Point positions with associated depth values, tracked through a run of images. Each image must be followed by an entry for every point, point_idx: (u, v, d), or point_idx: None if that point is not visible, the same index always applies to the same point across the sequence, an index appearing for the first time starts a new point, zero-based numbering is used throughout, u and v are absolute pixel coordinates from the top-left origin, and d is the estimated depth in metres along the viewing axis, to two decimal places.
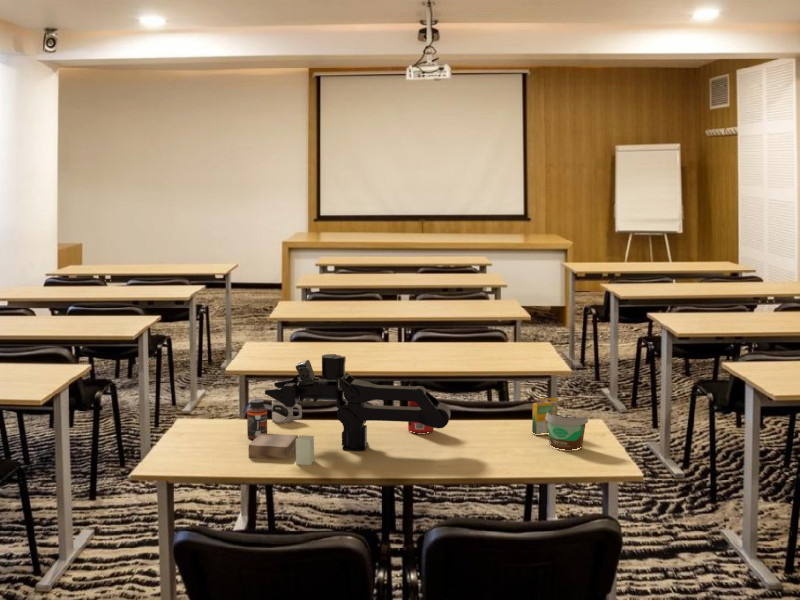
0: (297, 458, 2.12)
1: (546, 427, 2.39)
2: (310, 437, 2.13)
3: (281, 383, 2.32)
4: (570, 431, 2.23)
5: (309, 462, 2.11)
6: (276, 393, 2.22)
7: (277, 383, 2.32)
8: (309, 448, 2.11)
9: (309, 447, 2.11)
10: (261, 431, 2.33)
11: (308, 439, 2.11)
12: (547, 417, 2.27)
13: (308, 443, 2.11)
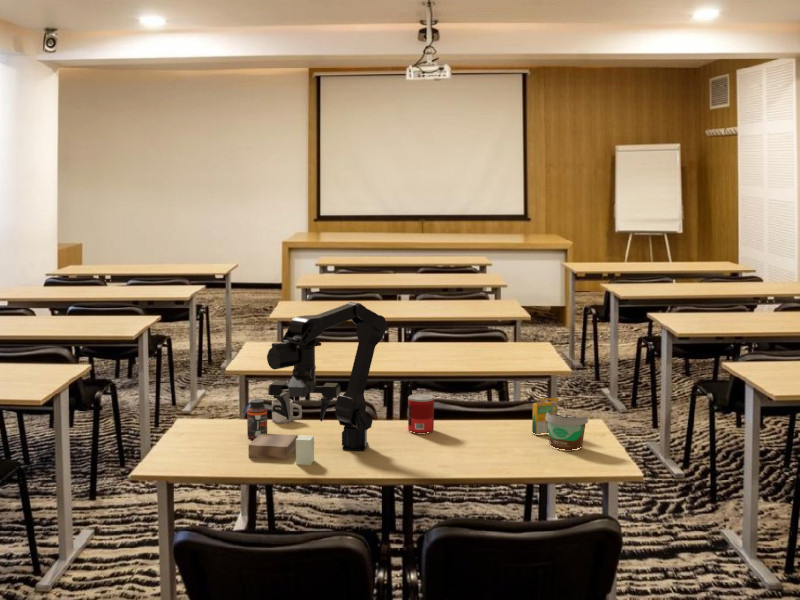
0: (297, 458, 2.12)
1: (546, 427, 2.39)
2: (310, 437, 2.13)
3: (288, 412, 2.12)
4: (570, 431, 2.23)
5: (309, 462, 2.11)
6: (325, 407, 2.11)
7: (288, 416, 2.12)
8: (309, 448, 2.11)
9: (309, 447, 2.11)
10: (261, 431, 2.33)
11: (308, 439, 2.11)
12: (547, 417, 2.27)
13: (308, 443, 2.11)
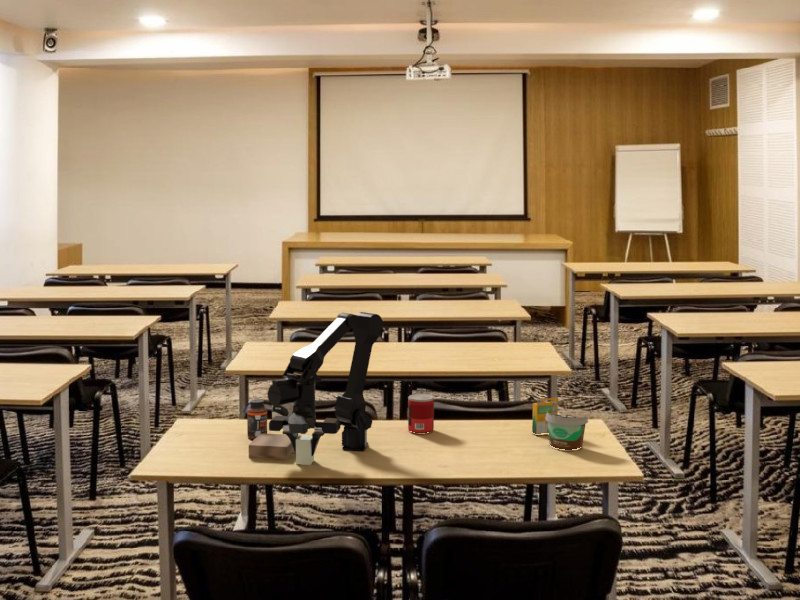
0: (297, 458, 2.12)
1: (546, 427, 2.39)
2: (310, 437, 2.13)
3: None
4: (570, 431, 2.23)
5: (309, 462, 2.11)
6: (317, 442, 2.12)
7: None
8: (309, 448, 2.11)
9: (309, 447, 2.11)
10: (261, 431, 2.33)
11: (308, 439, 2.11)
12: (547, 417, 2.27)
13: (308, 443, 2.11)
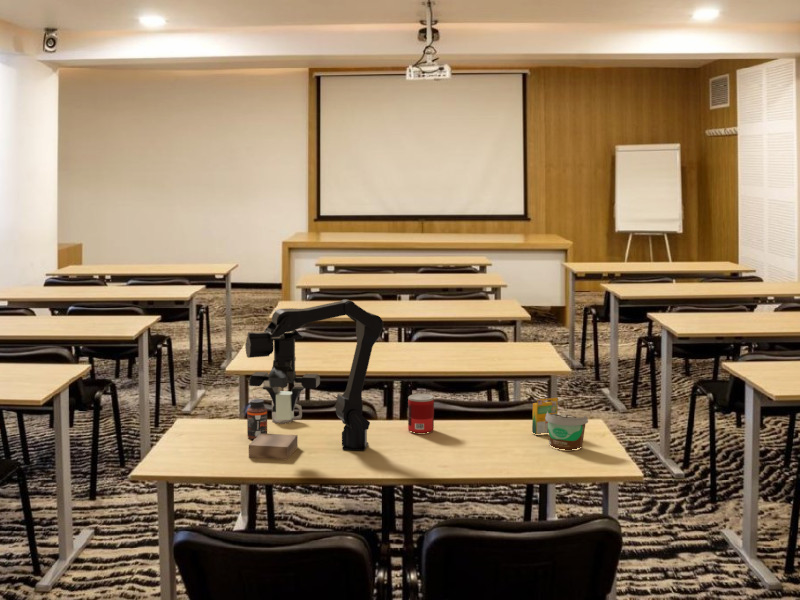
0: (277, 413, 2.15)
1: (546, 427, 2.39)
2: (290, 392, 2.16)
3: None
4: (570, 431, 2.23)
5: (289, 417, 2.15)
6: (296, 397, 2.16)
7: None
8: (289, 403, 2.14)
9: (289, 402, 2.14)
10: (261, 431, 2.33)
11: (288, 394, 2.15)
12: (547, 417, 2.27)
13: (288, 398, 2.14)
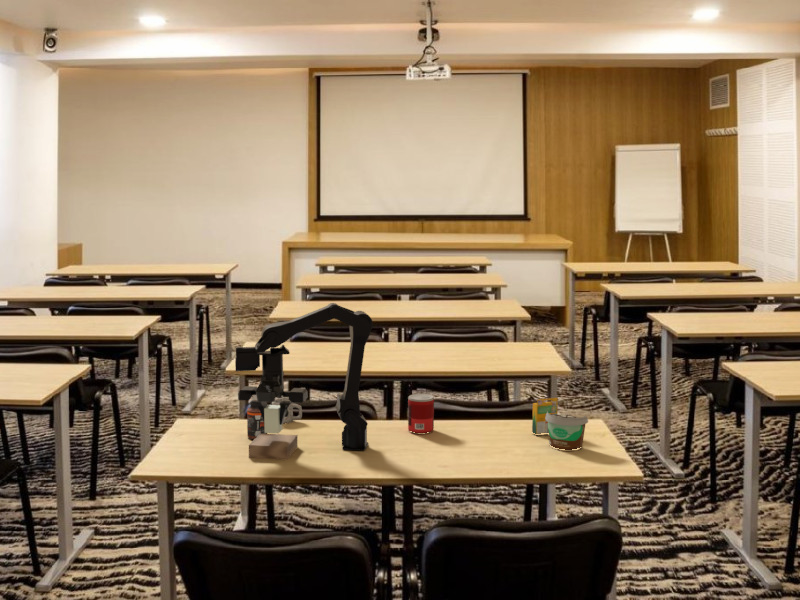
0: (265, 426, 2.19)
1: (546, 427, 2.39)
2: (278, 406, 2.20)
3: None
4: (570, 431, 2.23)
5: (277, 430, 2.19)
6: (284, 411, 2.20)
7: None
8: (277, 417, 2.18)
9: (277, 416, 2.18)
10: (261, 431, 2.33)
11: (276, 408, 2.19)
12: (547, 417, 2.27)
13: (276, 412, 2.18)
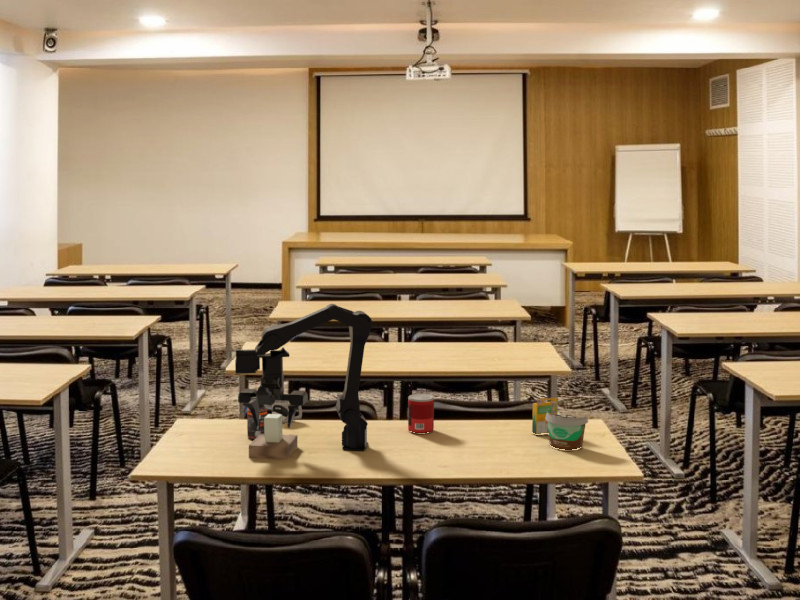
0: (266, 436, 2.19)
1: (546, 427, 2.39)
2: (278, 415, 2.21)
3: (257, 418, 2.21)
4: (570, 431, 2.23)
5: (277, 439, 2.19)
6: (293, 414, 2.20)
7: (257, 422, 2.21)
8: (277, 426, 2.19)
9: (277, 425, 2.19)
10: (261, 431, 2.33)
11: (276, 417, 2.19)
12: (547, 417, 2.27)
13: (276, 421, 2.18)
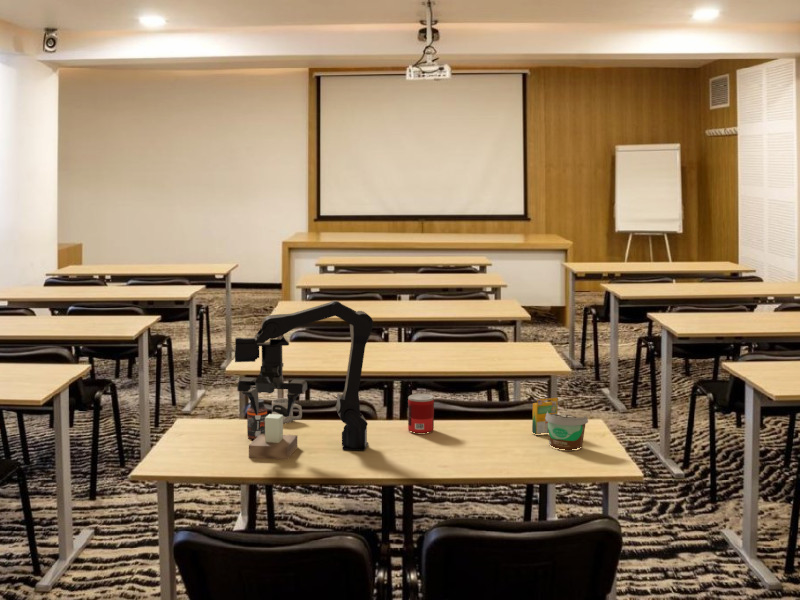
0: (266, 436, 2.19)
1: (546, 427, 2.39)
2: (279, 416, 2.21)
3: (256, 407, 2.20)
4: (570, 431, 2.23)
5: (277, 440, 2.19)
6: (292, 403, 2.19)
7: (256, 411, 2.20)
8: (278, 426, 2.19)
9: (278, 425, 2.19)
10: (261, 431, 2.33)
11: (277, 417, 2.19)
12: (547, 417, 2.27)
13: (277, 421, 2.18)
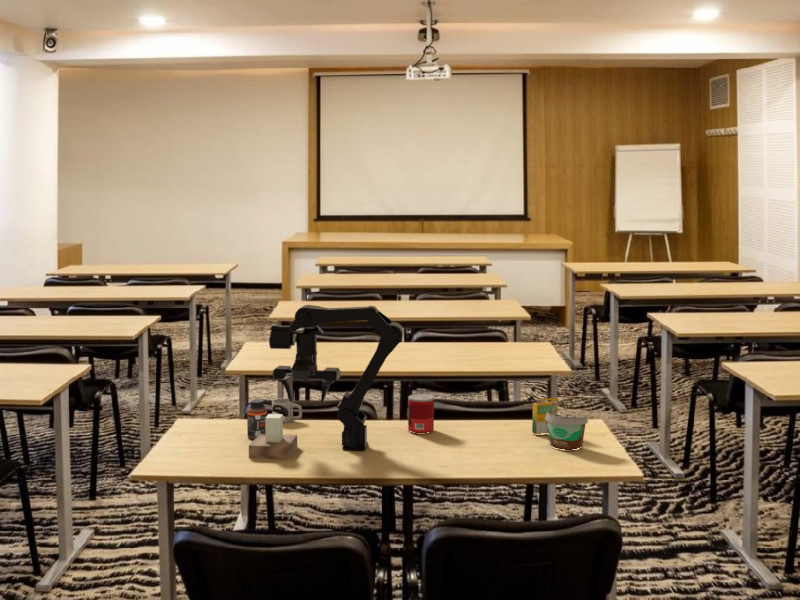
0: (267, 436, 2.19)
1: (546, 427, 2.39)
2: (279, 415, 2.21)
3: (291, 394, 2.26)
4: (570, 431, 2.23)
5: (278, 439, 2.19)
6: (326, 390, 2.25)
7: (291, 398, 2.26)
8: (278, 426, 2.19)
9: (278, 425, 2.19)
10: (261, 431, 2.33)
11: (277, 417, 2.19)
12: (547, 417, 2.27)
13: (277, 421, 2.19)
